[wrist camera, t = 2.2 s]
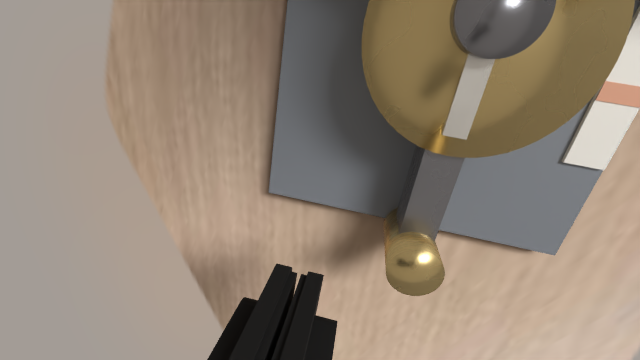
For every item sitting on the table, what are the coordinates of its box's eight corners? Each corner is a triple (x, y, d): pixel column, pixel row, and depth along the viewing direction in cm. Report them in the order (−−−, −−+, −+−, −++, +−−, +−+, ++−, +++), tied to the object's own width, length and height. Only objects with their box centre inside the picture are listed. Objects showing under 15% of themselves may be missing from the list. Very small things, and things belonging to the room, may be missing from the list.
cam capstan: (256, -202, 11) (196, -336, 7) (863, -149, 9) (1195, -292, 6) (235, 205, 18) (198, 244, 14) (584, 284, 16) (648, 353, 12)
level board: (326, -318, 11) (320, -363, 10) (836, -294, 9) (901, -344, 8) (273, 185, 18) (267, 194, 17) (545, 244, 17) (557, 258, 16)
